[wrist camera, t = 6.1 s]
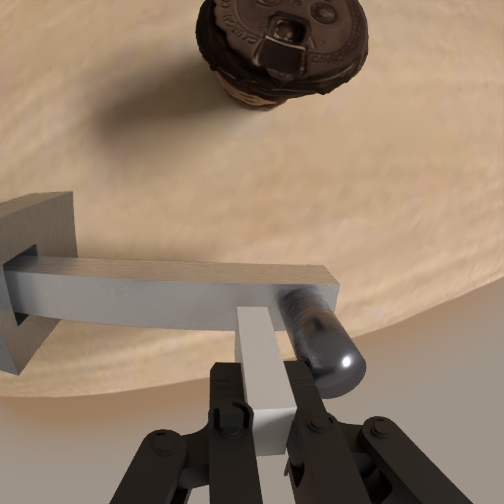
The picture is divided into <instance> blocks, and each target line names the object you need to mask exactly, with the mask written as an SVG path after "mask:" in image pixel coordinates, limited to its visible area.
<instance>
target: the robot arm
mask: <svg viewBox="0 0 504 504" xmlns="http://www.w3.org/2000/svg"><path fill="white" fill-rule="evenodd" d="M234 353H235V363H225V362H215V364H214V365H213V367H212V368H211V370H210V409H209V412H208V420H209V421H208V423H207V425H206V426H205V427H204V428H203V429H201V430H200V431H198V432H195V433H192V434H187V435H182V436H181V435H180V434H178V433H176V432H174V431H172V430H165V429H161V430H155V431H153V432H151V433H149V434H148V435H147V436H146V437H145V438H144V440H143V441H142V443H141V445H140V447H139V449H138V451H137V453H136V454H135V456H134V459H133V460H132V462H131V464H130V466H129V468H128V469H127V472H126V473H125V475H124V477H123V479H122V481H121V483H120V485H119V487H118V488H117V490H116V492H115V494H114V496H113V498H112V500H111V501H110V503H109V504H187V502H188V499H189V496H190V493H191V490H192V489H193V488H197V487H201V486H205V485H209V491H210V492H209V493H210V504H263V501H262V494H261V488H260V482H259V474H258V468H257V460H256V456H269V455H280V454H281V455H282V454H285V451H286V447H287V451H288V455H289V458H288V461H287V464H286V468H285V471H284V476H287V475H288V472H289V476H290V481H291V485H292V490H293V494H294V498H295V502H296V504H473V503H472V502H471V501H470V500H469V499H468V498H467V497H466V496H465V495H464V494H463V493H462V492H461V491H460V490H459V489H458V488H457V487H456V486H455V485H454V484H453V483H452V482H451V481H450V480H449V479H448V478H447V477H446V476H445V475H444V474H443V473H442V472H441V471H440V470H439V468H438V467H437V466H435V464H434V463H432V461H431V460H430V459H429V458H428V457H427V456H426V455H425V454H424V453H423V452H422V451H421V450H420V449H419V448H418V447H417V446H416V445H415V444H414V443H413V442H412V440H410V438H409V437H407V435H406V434H405V433H404V432H403V431H402V430H401V429H400V428H399V427H398V426H397V425H396V424H395V423H394V422H393V421H391V420H390V419H388V418H385V417H380V416H375V417H371V418H369V419H367V420H366V421H365V422H364V424H363V425H354V424H346V423H341V422H339V421H337V419H336V418H335V417H334V416H333V415H331V414H330V413H328V412H327V411H326V409H325V407H324V404H323V402H322V399H321V396H320V394H319V391H318V389H317V386H316V385H315V381H314V379H313V376H312V374H311V371H310V369H309V367H308V366H307V365H306V364H305V363H303V362H302V361H301V360H298V361H283V359H282V356H281V352H280V349H279V346H278V342H277V339H276V336H275V332H274V329H273V325H272V322H271V319H270V315H269V312H268V309H267V307H240V306H237V310H236V330H235V351H234Z"/></svg>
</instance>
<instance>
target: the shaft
mask: <svg viewBox="0 0 504 504" xmlns="http://www.w3.org/2000/svg"><path fill="white" fill-rule="evenodd" d="M2 266H3V271H4V275H5V280H6V285H7V289H8V293H9V297H10V301H11V305H12V308H13V312H17V313H23V314H30V315H36V316H43V317H50V318H57V319H65V320H73V321H81V322H90V323H100V324H110V325H121V326H134V327H148V328H164V329H184V330H214V331H235V330H236V310H237V306H240V307H267V309H268V312H269V315H270V319H271V322H272V325H273V329H274V331H287V333H288V336H289V339H290V342H291V344H292V347H293V350H294V353H295V355H296V358H297V361H298V360H301V361H302V362H303V363H305V364H306V365H307V366H308V367H309V369H310V371H311V374H312V376H313V379H314V381H315V385H316V386H317V389H318V391H319V394H320V396H321V398H322V399H331V398H336V397H339V396H342V395H344V394H346V393H348V392H350V391H351V390H353V389H354V388H355V387H356V386H357V385H358V384H359V383H360V381H361V380H362V379H363V377H364V375H365V372H366V362H365V360H364V358H363V357H362V355H361V354H360V352H359V351H358V349H357V348H356V346H355V344H354V343H353V342H352V340H351V338H350V337H349V335H348V334H347V332H346V331H345V329H344V328H343V326H342V325H341V323H340V322H339V320H338V319H337V317H336V316H335V314H334V311H335V306H336V301H337V296H338V291H339V286H340V284H339V283H338V281H337V280H336V279H335V278H334V277H333V276H332V274H331V273H330V272H329V271H328V270H327V269H326V267H325V266H324V265H283V264H242V263H206V262H174V261H145V260H118V259H93V258H70V257H48V256H27V255H17V256H15V257H13V258H12V259H10V260H9V261H7V262H6V263H4V264H3V265H2Z"/></svg>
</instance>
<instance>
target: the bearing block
mask: <svg viewBox="0 0 504 504" xmlns="http://www.w3.org/2000/svg"><path fill="white" fill-rule="evenodd" d="M17 255H27V256H48V257H70V258H78V256H77V247H76V237H75V226H74V211H73V191H72V192H51V193H34V194H29V195H26V196H22V197H19V198H16V199H13V200H10V201H7V202H4V203H1V204H0V370H2V371H5V372H8V373H12V374H15V375H18V376H19V375H20V373H21V372H22V370H23V369H24V367H25V366H26V365H27V363H28V362H29V361H30V359H31V358H32V356H33V355H34V354H35V352H36V351H37V350H38V348H39V347H40V346H41V344H42V343H43V342H44V340H45V339H46V338H47V337H48V335H49V334H50V333H51V331H52V330H53V329H54V328H55V326H56V325H57V324H58V323H59V321H60V320H61V319H57V318H50V317H43V316H36V315H30V314H23V313H17V312H13V308H12V305H11V301H10V297H9V293H8V289H7V285H6V280H5V275H4V271H3V266H2V265H3V264H4V263H6V262H7V261H9V260H10V259H12V258H13V257H15V256H17Z"/></svg>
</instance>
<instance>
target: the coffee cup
mask: <svg viewBox="0 0 504 504" xmlns="http://www.w3.org/2000/svg"><path fill="white" fill-rule="evenodd" d="M195 33H196V39H197V44H198V46H199V51H200V52H201V54H202V57H203V58H204V59H205V60H206V61H207V62H208V63H209V64H210V69H211V70H212V71H216V74H217V76H218V78H219V80H220V82H221V84H222V86H223V87H224V89H225V91H226V92H227V94H228V95H229V96H230V97H231V98H233V99H234V100H235V101H237V102H238V103H240V104H242V105H244V106H247V107H250V108H253V109H256V110H258V109H265V110H272V109H274V108H276V107H277V106H279V105H281V104H283V103H285V102H286V101H287V100H288V99H290V98H298V97H302V96H305V95H312V94H316V93H319V94H321V95H325V94H327V93H330V92H331V91H332V90H334V89H335V88H337V87H339V86H340V85H342V84H343V83H347V82H349V80H350V79H351V78H352V77H354V76H355V75H356V74H357V73H358V72H359V71H360V70H361V68H362V66H363V64H364V62H365V61H366V57H367V55H368V37H369V36H368V26H367V19H366V16H365V13H364V11H363V8H362V6H361V5H360V3H359V2H358V0H205V1H204V2H203V4H202V6H201V7H200V12H199V15H198V19H197V23H196V31H195Z"/></svg>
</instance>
